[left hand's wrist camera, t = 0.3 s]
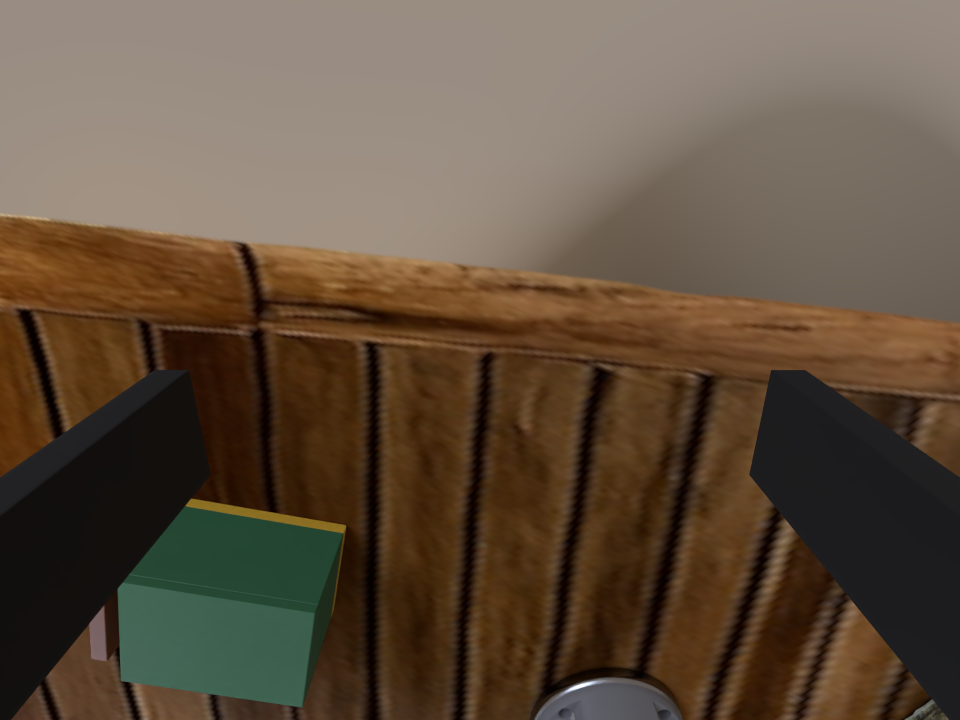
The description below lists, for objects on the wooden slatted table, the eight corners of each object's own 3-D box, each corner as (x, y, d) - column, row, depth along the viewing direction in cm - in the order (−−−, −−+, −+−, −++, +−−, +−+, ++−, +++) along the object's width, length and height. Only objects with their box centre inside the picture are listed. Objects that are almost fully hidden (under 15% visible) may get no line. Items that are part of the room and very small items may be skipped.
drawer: (77, 570, 48) (6, 646, 41) (72, 491, 45) (-6, 558, 38) (289, 604, 50) (257, 684, 42) (298, 530, 47) (264, 601, 39)
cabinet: (185, 584, 50) (120, 681, 41) (186, 497, 46) (116, 582, 38) (333, 608, 51) (302, 708, 42) (346, 525, 47) (315, 614, 39)
